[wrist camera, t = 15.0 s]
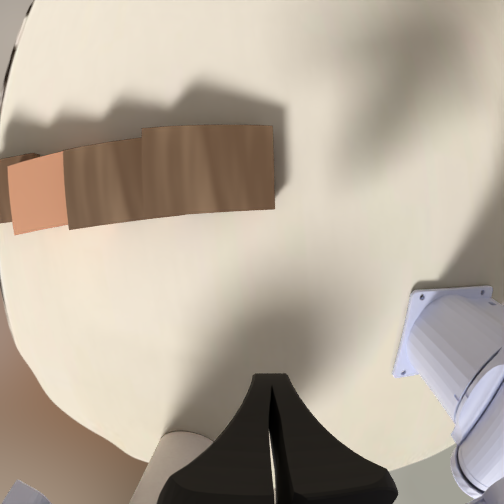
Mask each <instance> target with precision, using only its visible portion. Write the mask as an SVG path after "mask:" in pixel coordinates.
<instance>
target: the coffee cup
mask: <svg viewBox="0 0 504 504" xmlns="http://www.w3.org/2000/svg"><path fill="white" fill-rule="evenodd" d="M212 443H213V441H212V440H210V439H208V438H206V437H204V436H202V435H199V434H196V433H192V432H185V431H176V432H170V433H167V434H165V435H164V436H163V437H162V438H161V439H160V441H159V443H158V445H157V447H156V449H155V452H154V454H153V456H152V458H151V460H150V462H149V464H148V466H147V468H146V470H145V472H144V474H143V476H142V478H141V480H140V483H139V484H138V486H137V489H136V491H135V493H134V495H133V497H132V499H131V501H130V503H129V504H157V500H158V497H159V494H160V492H161V490H162V488H163V486H164V484H165V483H166V481H167V480H168V478H169V476H170V475H172V474H174V473H175V472H177V471H178V470H180V469H181V468H183V467H184V466H186V465H187V464H189V463H190V462H191V461H193V460H194V459H195V458H196V457H198V456H199V455H200V454H201V453H202V452H204V451H205V450H206V449H207V448H208V447H209V446H210V445H211V444H212Z"/></svg>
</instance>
